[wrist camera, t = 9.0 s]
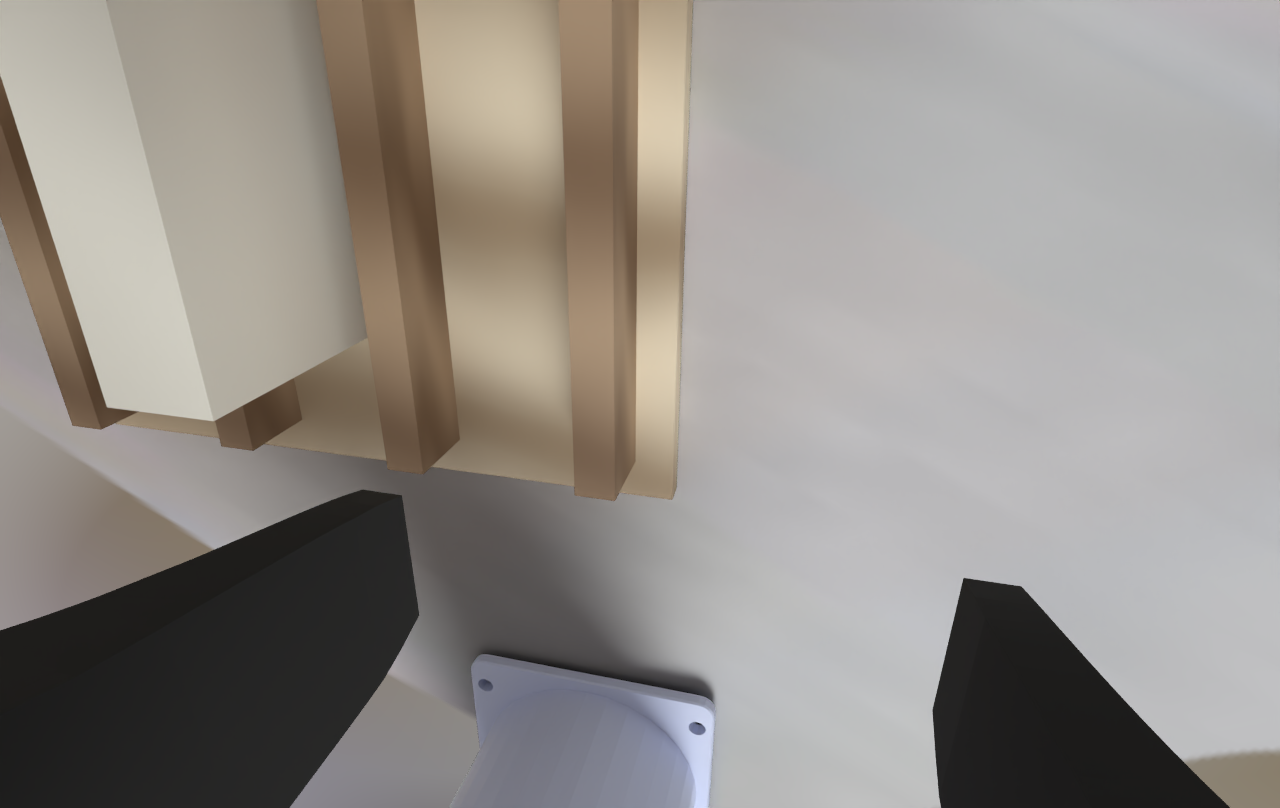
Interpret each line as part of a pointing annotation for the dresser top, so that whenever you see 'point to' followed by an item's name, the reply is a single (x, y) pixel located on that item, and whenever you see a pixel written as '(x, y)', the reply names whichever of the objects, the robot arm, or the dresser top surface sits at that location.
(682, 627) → the dresser top surface
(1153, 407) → the dresser top surface
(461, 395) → the dish rack
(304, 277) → the cream slab
